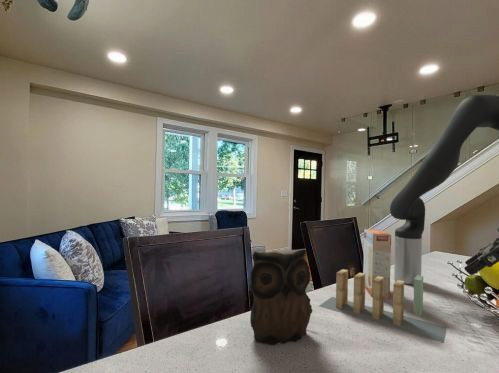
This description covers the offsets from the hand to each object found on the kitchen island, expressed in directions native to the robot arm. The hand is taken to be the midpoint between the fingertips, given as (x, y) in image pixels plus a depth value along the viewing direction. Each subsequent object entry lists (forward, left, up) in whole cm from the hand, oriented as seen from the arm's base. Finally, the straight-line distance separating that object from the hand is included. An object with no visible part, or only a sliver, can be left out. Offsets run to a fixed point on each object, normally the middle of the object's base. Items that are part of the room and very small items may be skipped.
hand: (467, 268), depth 73 cm
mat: (+11, -19, -15) cm, 26 cm away
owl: (+36, -35, -15) cm, 52 cm away
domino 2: (+11, -24, -14) cm, 30 cm away
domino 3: (+11, -19, -14) cm, 26 cm away
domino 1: (+11, -29, -14) cm, 34 cm away
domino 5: (0, -11, -15) cm, 18 cm away
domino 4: (+11, -14, -14) cm, 23 cm away
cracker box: (-10, -25, -15) cm, 31 cm away
